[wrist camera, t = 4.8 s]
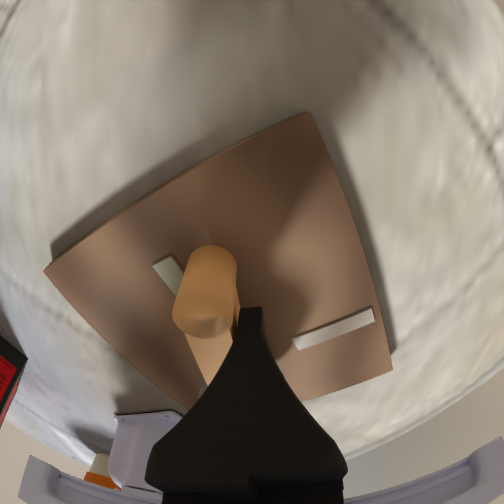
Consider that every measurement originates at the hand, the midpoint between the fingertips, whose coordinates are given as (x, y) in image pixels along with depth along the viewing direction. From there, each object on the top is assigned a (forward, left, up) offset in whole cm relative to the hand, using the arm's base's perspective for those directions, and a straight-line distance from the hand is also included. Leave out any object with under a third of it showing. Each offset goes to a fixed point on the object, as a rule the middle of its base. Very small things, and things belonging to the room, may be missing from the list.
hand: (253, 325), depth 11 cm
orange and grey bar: (-2, -2, -1) cm, 4 cm away
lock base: (-3, -4, -4) cm, 6 cm away
